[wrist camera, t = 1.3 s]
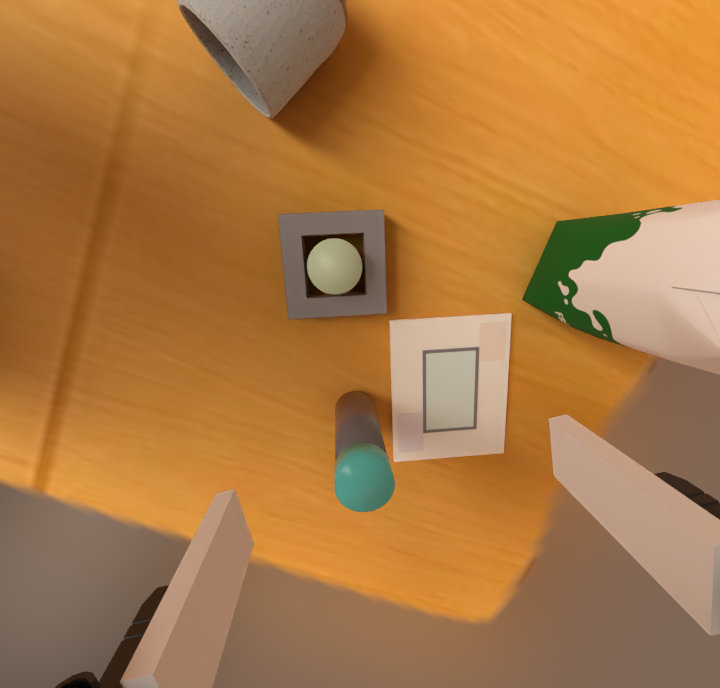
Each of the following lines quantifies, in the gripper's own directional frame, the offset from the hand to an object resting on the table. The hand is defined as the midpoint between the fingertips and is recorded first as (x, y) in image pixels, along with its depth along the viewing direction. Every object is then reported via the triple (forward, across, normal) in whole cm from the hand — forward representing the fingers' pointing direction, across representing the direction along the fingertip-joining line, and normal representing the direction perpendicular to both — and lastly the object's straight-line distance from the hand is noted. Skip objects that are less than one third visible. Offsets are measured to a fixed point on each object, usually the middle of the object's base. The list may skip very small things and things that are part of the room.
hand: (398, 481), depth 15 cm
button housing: (+18, -1, +9) cm, 20 cm away
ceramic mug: (+19, -2, +25) cm, 32 cm away
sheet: (+18, +7, -5) cm, 20 cm away
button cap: (+17, -1, +9) cm, 19 cm away
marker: (+18, -2, -4) cm, 19 cm away
